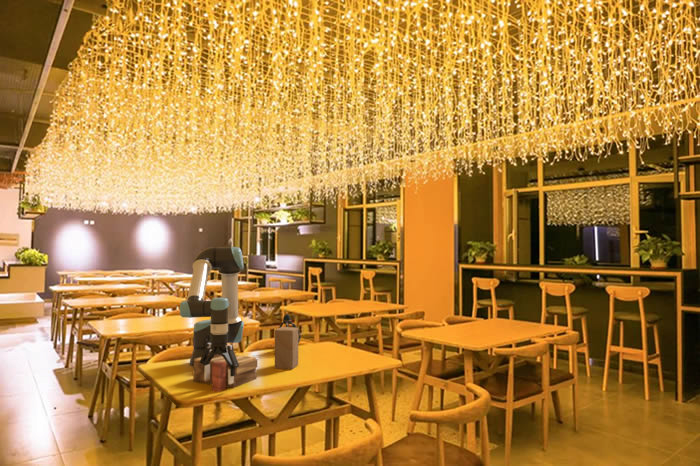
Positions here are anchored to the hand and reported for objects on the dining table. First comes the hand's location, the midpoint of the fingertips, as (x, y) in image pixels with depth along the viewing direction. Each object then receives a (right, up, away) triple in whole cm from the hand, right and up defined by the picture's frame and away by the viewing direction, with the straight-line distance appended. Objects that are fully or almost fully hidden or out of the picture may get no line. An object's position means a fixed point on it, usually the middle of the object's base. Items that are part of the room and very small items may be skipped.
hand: (218, 381), depth 200 cm
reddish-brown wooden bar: (0, -3, 0) cm, 3 cm away
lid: (-1, +2, +15) cm, 15 cm away
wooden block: (+24, -5, +40) cm, 47 cm away
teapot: (+17, -7, +80) cm, 83 cm away
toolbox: (-1, -4, +15) cm, 16 cm away
